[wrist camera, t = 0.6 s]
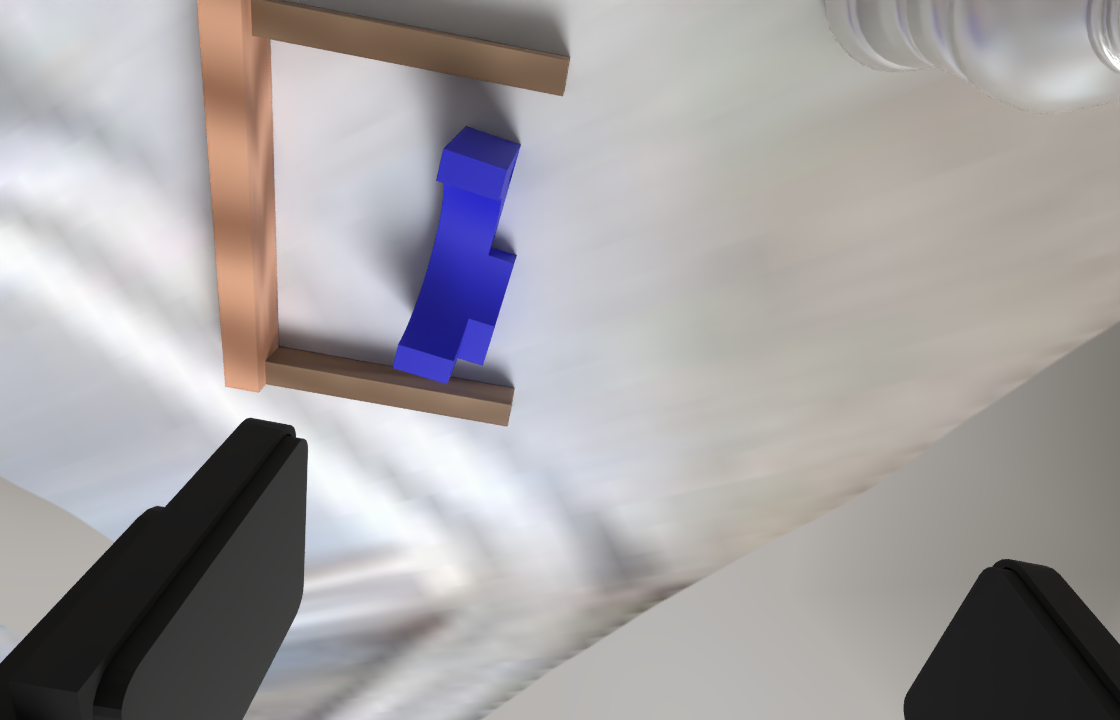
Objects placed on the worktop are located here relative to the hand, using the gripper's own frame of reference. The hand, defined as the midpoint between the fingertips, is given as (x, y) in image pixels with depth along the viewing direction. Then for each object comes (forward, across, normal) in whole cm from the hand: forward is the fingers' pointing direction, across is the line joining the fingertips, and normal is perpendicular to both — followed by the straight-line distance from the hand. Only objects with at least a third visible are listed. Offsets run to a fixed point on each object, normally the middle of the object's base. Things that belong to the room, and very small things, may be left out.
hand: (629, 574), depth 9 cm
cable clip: (+31, +6, +5) cm, 32 cm away
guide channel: (+30, +11, +6) cm, 33 cm away
